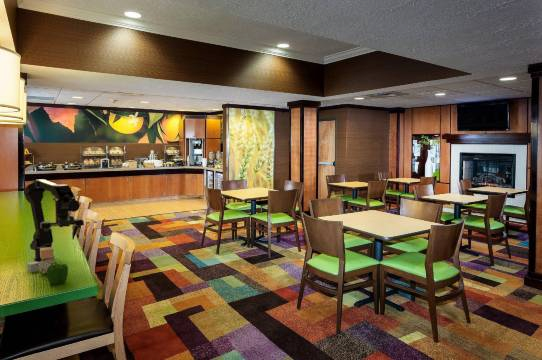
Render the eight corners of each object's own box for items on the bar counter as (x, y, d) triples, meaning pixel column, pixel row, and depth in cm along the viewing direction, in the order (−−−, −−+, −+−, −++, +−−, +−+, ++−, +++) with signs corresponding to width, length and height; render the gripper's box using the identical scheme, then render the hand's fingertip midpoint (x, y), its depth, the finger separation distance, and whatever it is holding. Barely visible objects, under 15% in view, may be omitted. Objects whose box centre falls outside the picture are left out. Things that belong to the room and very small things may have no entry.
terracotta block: (40, 256, 182) (39, 248, 181) (52, 254, 185) (51, 246, 184) (41, 259, 178) (41, 250, 177) (53, 257, 181) (53, 249, 180)
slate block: (27, 271, 185) (27, 262, 184) (36, 269, 188) (36, 261, 188) (30, 272, 182) (30, 264, 182) (39, 270, 185) (39, 262, 185)
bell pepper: (63, 278, 175) (62, 257, 174) (71, 282, 170) (70, 260, 169) (43, 283, 169) (42, 261, 168) (50, 287, 163) (49, 265, 162)
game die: (52, 279, 184) (66, 261, 186) (42, 279, 175) (57, 260, 178) (37, 269, 185) (51, 251, 187) (27, 268, 176) (42, 250, 179)
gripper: (42, 213, 179) (43, 246, 180) (85, 210, 190) (86, 241, 191) (39, 210, 188) (40, 241, 189) (81, 207, 199) (82, 237, 200)
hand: (62, 240), depth 192 cm, fingers open, 9 cm apart
